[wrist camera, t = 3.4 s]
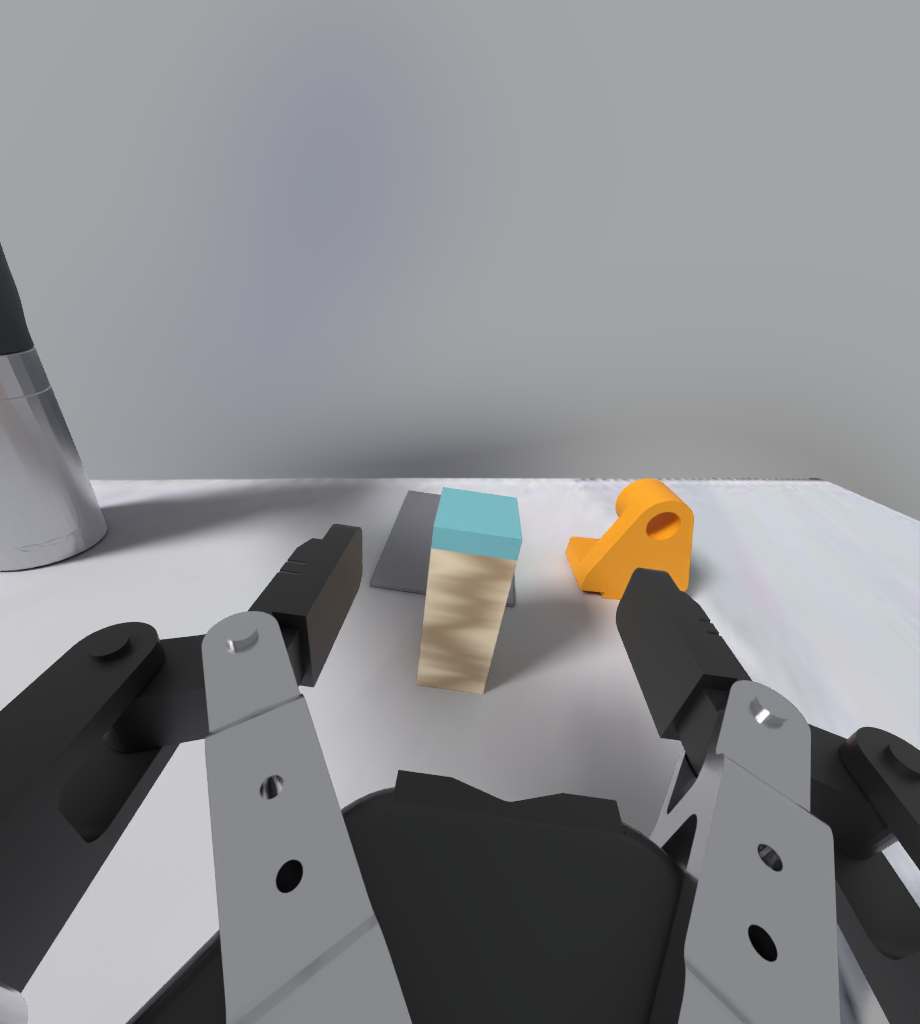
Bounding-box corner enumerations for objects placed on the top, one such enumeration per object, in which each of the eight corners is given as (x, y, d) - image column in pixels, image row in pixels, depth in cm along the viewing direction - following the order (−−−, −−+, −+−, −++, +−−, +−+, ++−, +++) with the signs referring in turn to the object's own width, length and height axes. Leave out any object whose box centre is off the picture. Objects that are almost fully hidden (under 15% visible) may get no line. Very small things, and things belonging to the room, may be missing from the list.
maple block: (416, 684, 28) (433, 526, 21) (426, 632, 32) (443, 487, 25) (483, 694, 28) (522, 539, 21) (483, 641, 32) (516, 497, 25)
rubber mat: (513, 607, 36) (514, 604, 36) (369, 586, 36) (369, 583, 36) (505, 507, 54) (506, 504, 53) (408, 492, 54) (408, 490, 53)
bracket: (647, 563, 46) (690, 474, 40) (677, 605, 40) (732, 507, 34) (561, 554, 45) (591, 462, 39) (578, 596, 39) (616, 494, 33)
